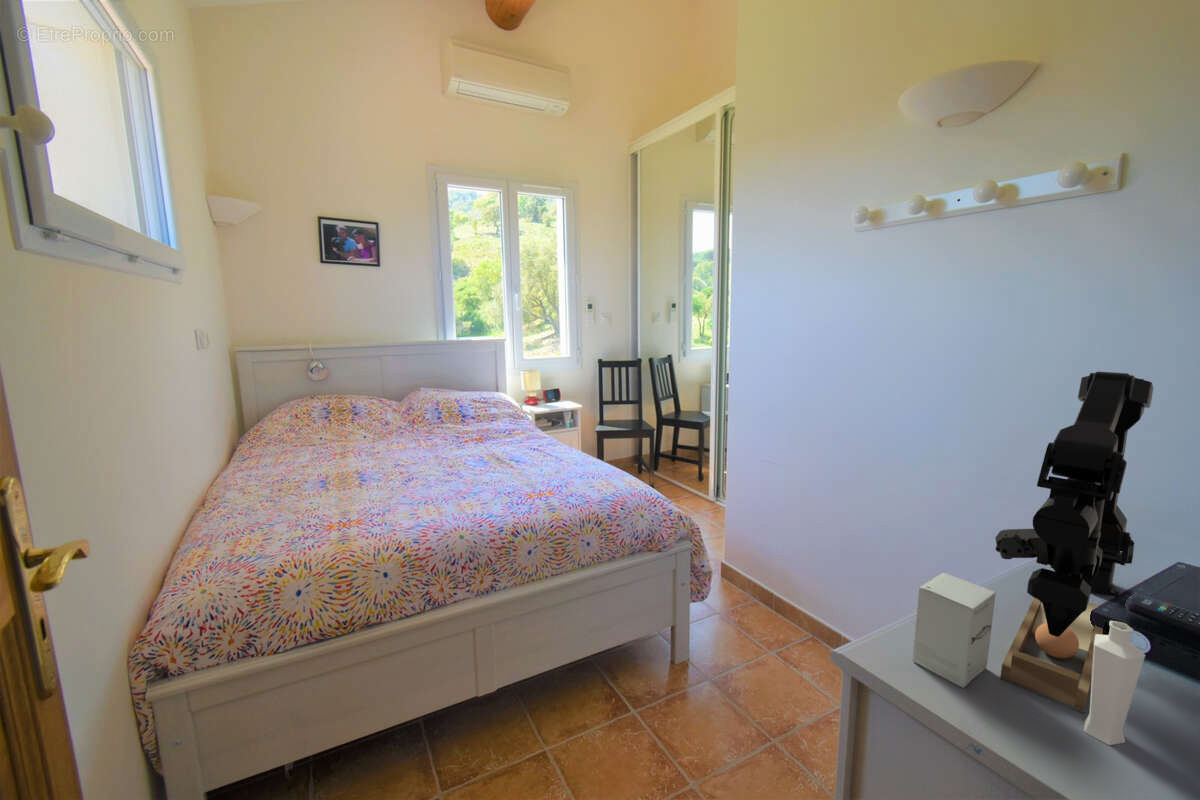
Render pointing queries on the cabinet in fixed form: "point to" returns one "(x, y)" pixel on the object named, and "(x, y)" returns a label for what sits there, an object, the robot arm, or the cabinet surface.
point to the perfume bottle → (1112, 683)
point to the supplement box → (953, 628)
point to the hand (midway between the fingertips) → (1059, 621)
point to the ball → (1057, 642)
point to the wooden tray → (1052, 661)
